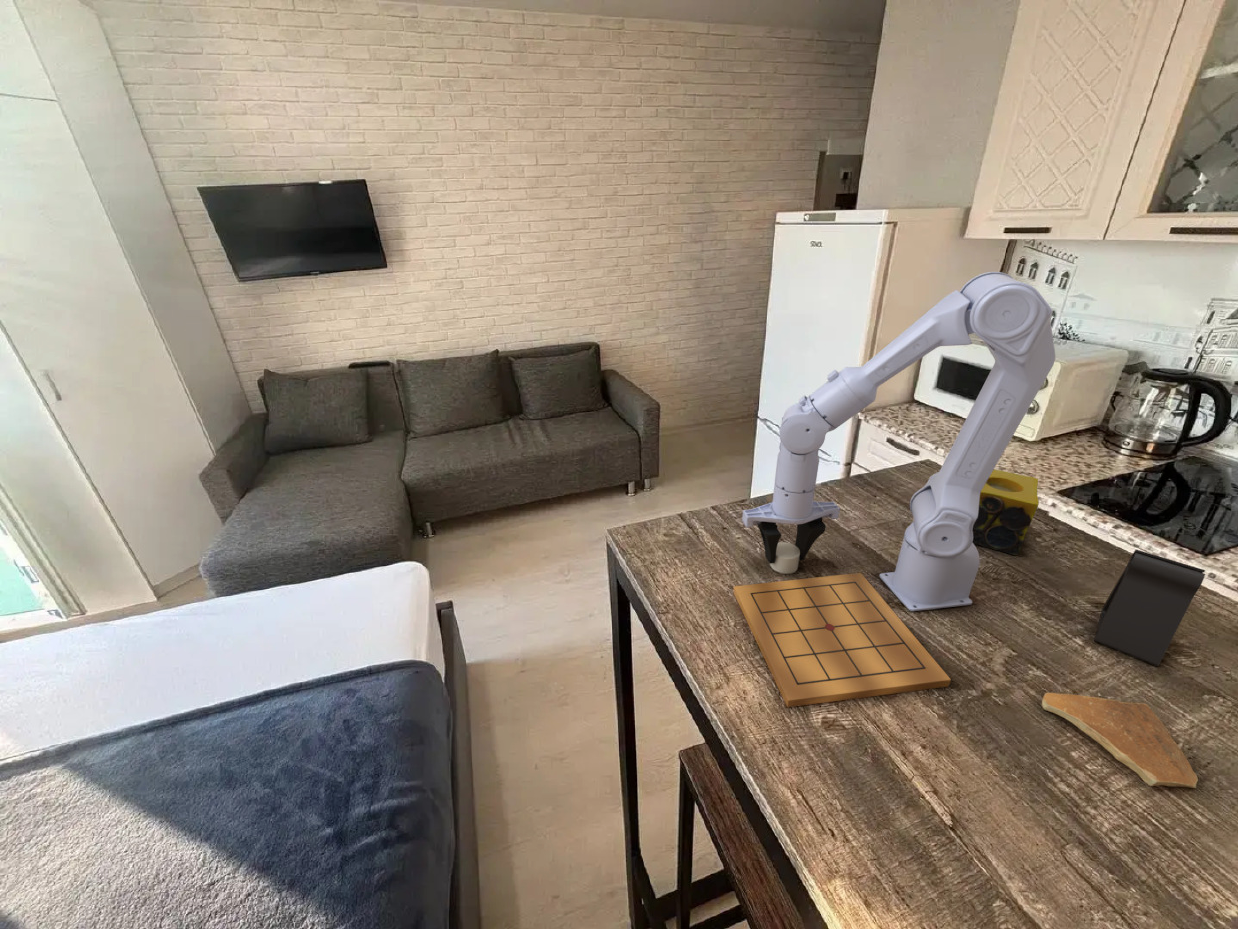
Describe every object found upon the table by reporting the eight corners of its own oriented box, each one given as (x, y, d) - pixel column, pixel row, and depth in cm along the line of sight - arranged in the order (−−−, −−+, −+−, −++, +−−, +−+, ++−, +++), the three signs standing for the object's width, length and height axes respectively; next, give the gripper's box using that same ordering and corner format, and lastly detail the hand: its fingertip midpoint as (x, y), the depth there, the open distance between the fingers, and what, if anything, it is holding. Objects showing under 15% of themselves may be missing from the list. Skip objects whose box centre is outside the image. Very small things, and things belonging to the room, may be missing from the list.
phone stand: (1102, 606, 71) (1139, 535, 66) (1162, 628, 67) (1206, 555, 62) (1092, 641, 66) (1131, 567, 60) (1157, 668, 62) (1204, 591, 56)
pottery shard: (1033, 699, 59) (1040, 684, 58) (1114, 696, 59) (1123, 681, 57) (1113, 792, 49) (1123, 776, 48) (1210, 789, 49) (1222, 773, 48)
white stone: (791, 555, 84) (793, 540, 83) (802, 572, 80) (805, 557, 79) (765, 558, 84) (767, 543, 82) (775, 575, 80) (777, 559, 78)
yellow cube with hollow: (952, 510, 94) (967, 462, 90) (1020, 527, 89) (1039, 477, 84) (946, 537, 87) (961, 486, 82) (1018, 557, 81) (1039, 504, 77)
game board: (859, 578, 78) (860, 572, 78) (948, 686, 61) (951, 679, 60) (733, 592, 77) (733, 585, 76) (787, 707, 59) (788, 700, 58)
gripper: (828, 467, 79) (816, 539, 86) (738, 475, 78) (732, 547, 84) (852, 489, 73) (837, 565, 79) (754, 498, 72) (747, 574, 78)
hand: (784, 558), depth 81 cm, fingers closed on white stone, 4 cm apart
